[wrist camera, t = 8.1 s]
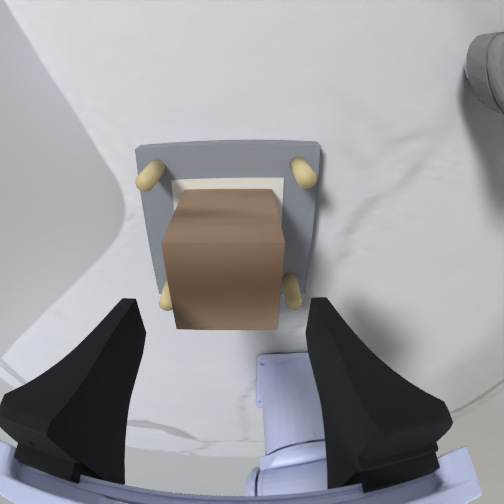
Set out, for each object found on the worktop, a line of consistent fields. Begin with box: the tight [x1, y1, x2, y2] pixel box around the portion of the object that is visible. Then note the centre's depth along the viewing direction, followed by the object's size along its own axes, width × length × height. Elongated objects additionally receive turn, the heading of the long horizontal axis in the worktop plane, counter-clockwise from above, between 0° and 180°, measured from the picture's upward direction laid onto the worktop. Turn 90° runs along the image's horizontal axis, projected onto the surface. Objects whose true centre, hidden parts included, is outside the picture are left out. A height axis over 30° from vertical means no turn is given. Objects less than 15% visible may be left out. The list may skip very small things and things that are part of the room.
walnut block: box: [161, 189, 285, 330], centre depth 16 cm, size 5×5×6 cm
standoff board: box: [135, 140, 321, 311], centre depth 18 cm, size 10×10×4 cm
